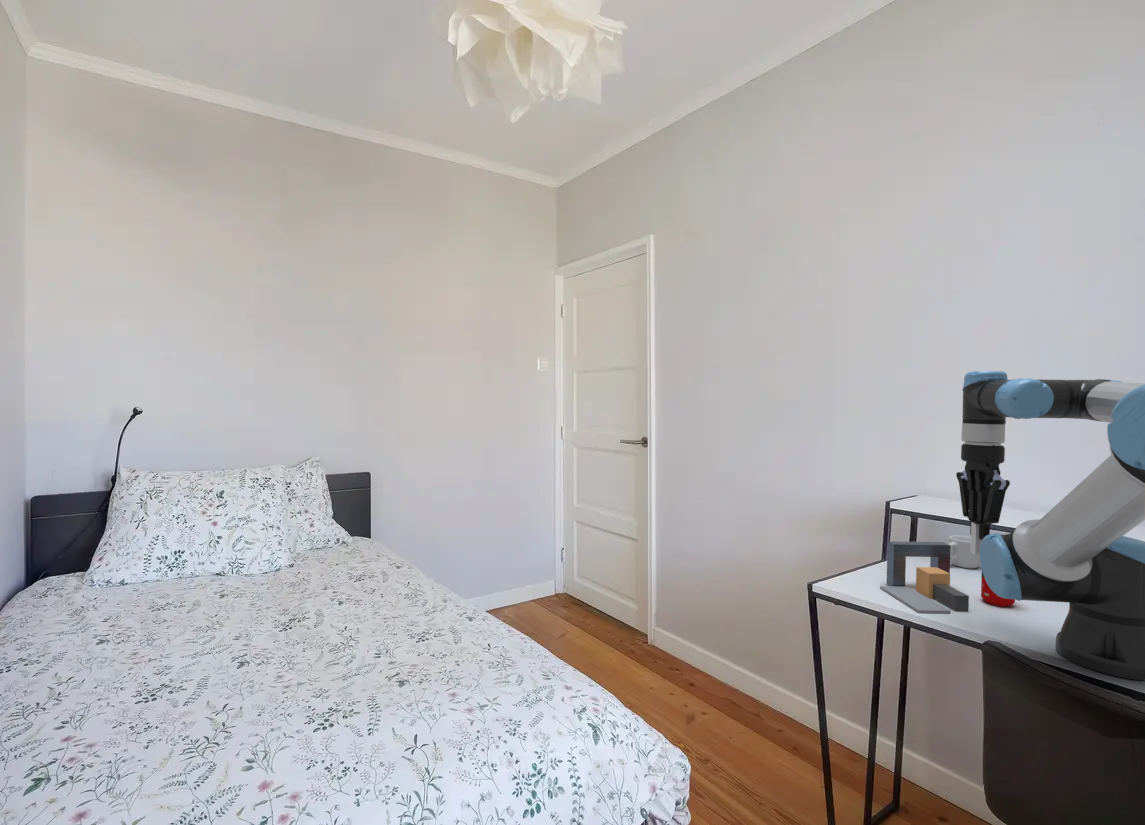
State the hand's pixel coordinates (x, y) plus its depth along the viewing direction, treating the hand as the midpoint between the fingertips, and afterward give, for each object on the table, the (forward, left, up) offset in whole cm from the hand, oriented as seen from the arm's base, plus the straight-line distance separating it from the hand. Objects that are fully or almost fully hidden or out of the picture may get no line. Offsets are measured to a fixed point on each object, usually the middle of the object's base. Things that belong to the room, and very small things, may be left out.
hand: (979, 553), depth 121 cm
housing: (+21, 0, -14) cm, 26 cm away
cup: (+39, -23, -15) cm, 48 cm away
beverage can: (+10, -12, -15) cm, 22 cm away
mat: (+11, +7, -14) cm, 20 cm away
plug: (+11, 0, -15) cm, 18 cm away
